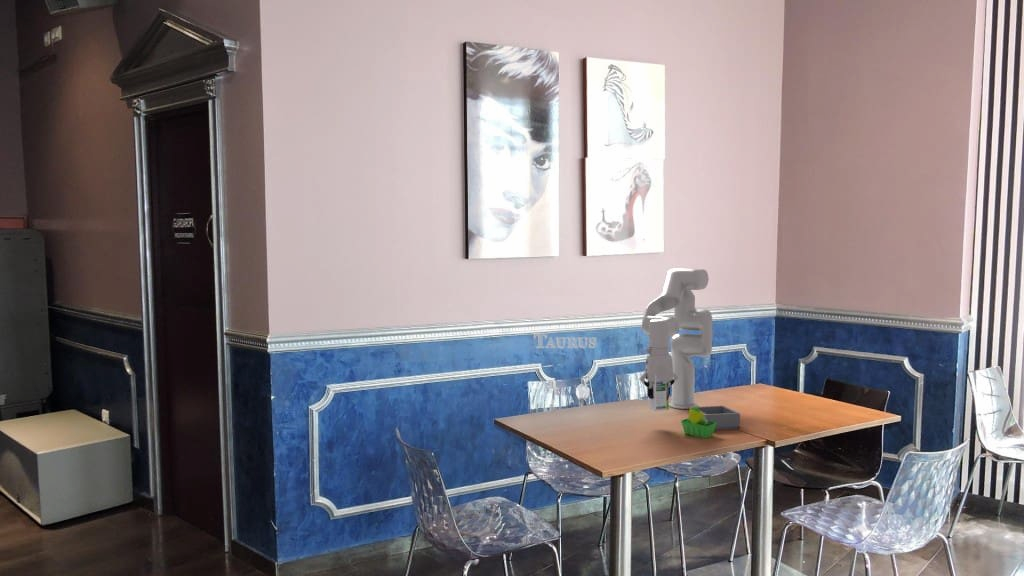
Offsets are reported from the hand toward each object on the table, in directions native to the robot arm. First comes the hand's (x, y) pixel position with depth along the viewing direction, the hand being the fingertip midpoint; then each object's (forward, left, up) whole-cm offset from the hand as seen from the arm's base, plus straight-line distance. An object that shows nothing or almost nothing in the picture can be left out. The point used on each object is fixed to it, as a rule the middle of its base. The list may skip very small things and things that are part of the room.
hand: (658, 397), depth 308 cm
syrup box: (0, 0, -5) cm, 5 cm away
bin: (+2, +23, -12) cm, 25 cm away
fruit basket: (+14, +10, -12) cm, 21 cm away
